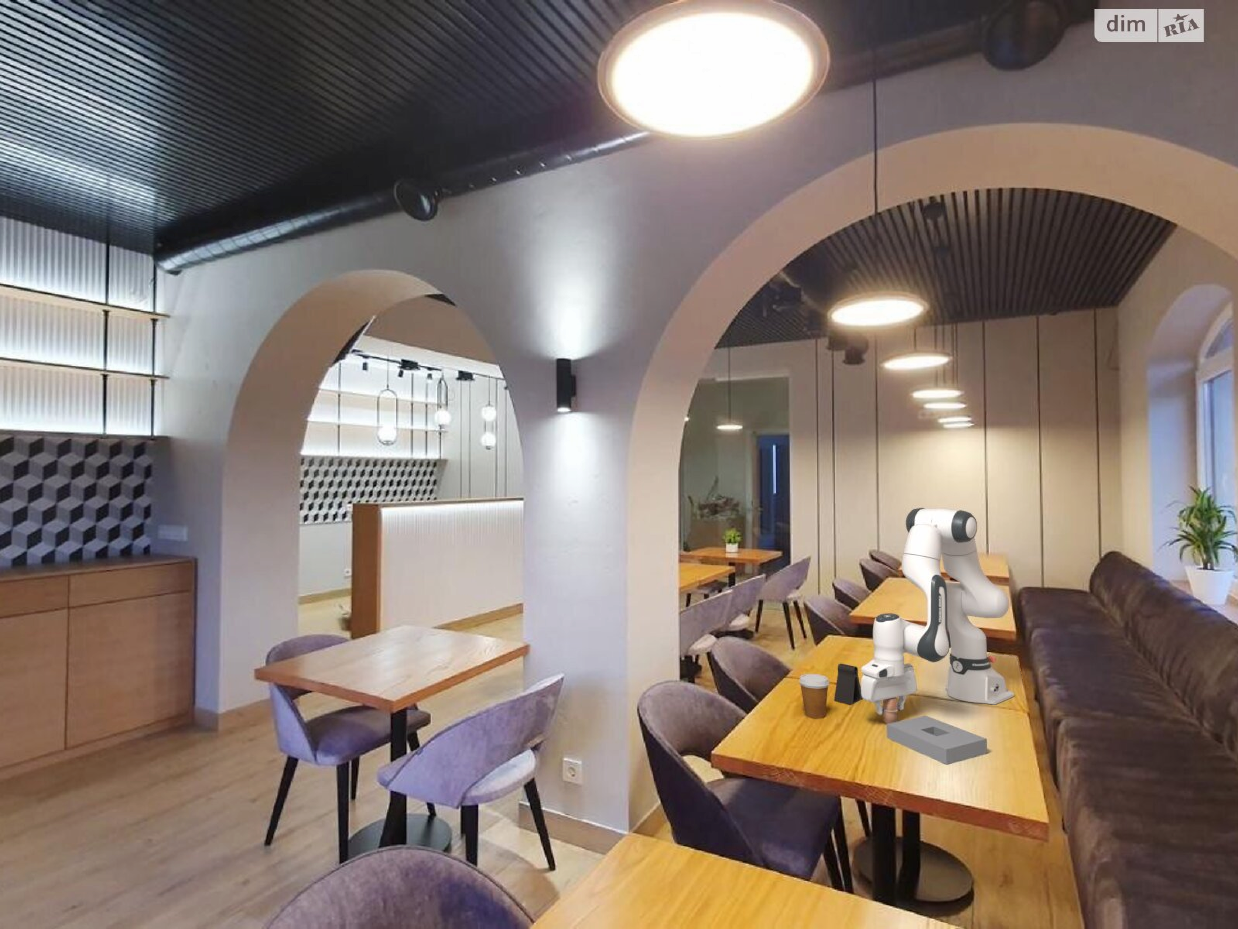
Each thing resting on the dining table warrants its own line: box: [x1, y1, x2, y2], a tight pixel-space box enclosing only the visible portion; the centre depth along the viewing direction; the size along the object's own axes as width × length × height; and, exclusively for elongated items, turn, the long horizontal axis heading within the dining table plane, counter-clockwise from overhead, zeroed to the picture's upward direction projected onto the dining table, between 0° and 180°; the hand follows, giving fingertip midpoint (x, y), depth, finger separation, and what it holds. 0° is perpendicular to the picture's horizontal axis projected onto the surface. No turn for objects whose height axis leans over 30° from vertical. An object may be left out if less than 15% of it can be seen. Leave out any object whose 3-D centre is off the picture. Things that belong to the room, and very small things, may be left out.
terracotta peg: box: [882, 697, 898, 726], centre depth 199 cm, size 4×4×8 cm
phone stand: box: [833, 663, 864, 706], centre depth 221 cm, size 9×6×12 cm, turn 133°
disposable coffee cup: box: [798, 673, 830, 719], centre depth 207 cm, size 10×10×12 cm
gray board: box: [886, 714, 988, 766], centre depth 182 cm, size 16×20×4 cm
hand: (890, 711), depth 199 cm, fingers open, 7 cm apart
